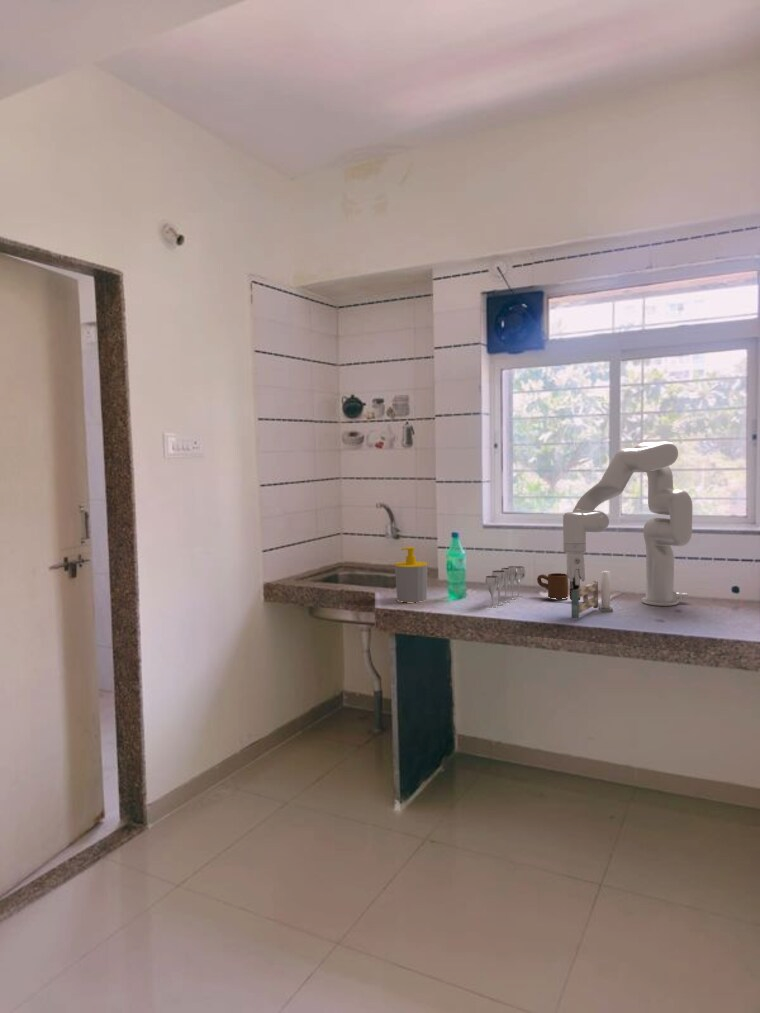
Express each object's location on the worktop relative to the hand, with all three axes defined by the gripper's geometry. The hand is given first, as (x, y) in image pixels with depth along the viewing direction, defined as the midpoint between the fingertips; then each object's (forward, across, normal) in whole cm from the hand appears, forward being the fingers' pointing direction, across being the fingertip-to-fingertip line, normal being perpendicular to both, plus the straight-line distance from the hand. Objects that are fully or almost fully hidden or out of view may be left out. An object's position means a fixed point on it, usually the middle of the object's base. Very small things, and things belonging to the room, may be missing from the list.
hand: (574, 599), depth 239 cm
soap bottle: (+6, +26, +59) cm, 65 cm away
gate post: (+6, +8, -12) cm, 15 cm away
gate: (+5, 0, -4) cm, 6 cm away
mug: (+6, +29, +4) cm, 30 cm away
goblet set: (+6, +22, +22) cm, 32 cm away
